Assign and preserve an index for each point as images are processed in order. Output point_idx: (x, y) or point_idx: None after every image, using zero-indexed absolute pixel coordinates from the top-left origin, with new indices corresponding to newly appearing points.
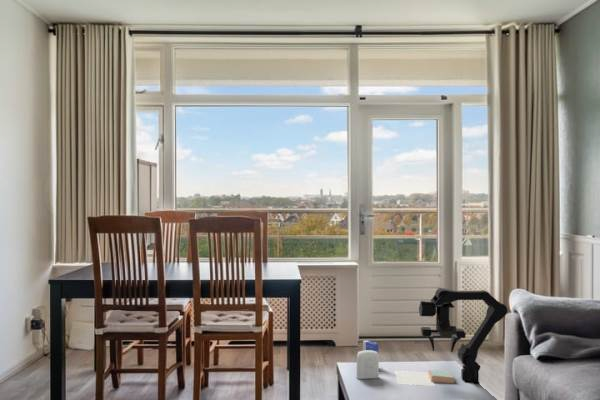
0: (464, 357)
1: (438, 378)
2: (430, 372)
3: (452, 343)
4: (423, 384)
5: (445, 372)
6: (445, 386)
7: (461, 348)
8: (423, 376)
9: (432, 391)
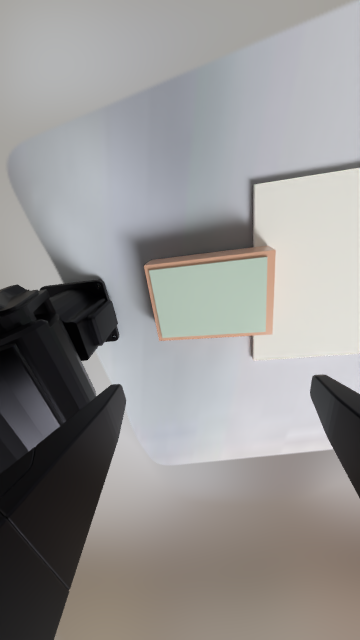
0: (12, 332)
1: (231, 253)
2: (269, 305)
3: (48, 481)
4: (324, 186)
5: (186, 328)
6: (197, 213)
7: (23, 453)
8: (292, 308)
9: (287, 94)
